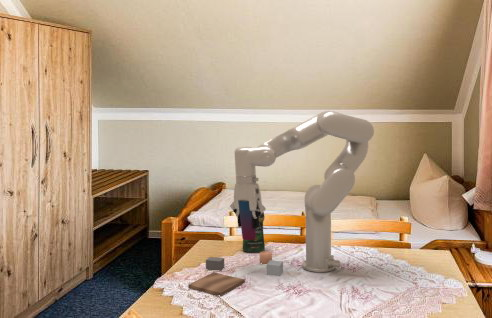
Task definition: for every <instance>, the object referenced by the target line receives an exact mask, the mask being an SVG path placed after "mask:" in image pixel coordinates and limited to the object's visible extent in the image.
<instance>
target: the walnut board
mask: <svg viewBox="0 0 492 318" xmlns="http://www.w3.org/2000/svg"><path fill="white" fill-rule="evenodd" d="M243 283H244V284H246V279H244V278H240V277H235V276H231V275H228V274H222V273H217V272H213V271H212V272H211V273H209V274H207V275H205V276H203V277H201V278H199V279H197V280H195V281H193V282H191V283H189V284H188V286H187V287H189V288H188V289H191V288H192V289H191V290H194V289H195V290H196V291H199V292H202V291H203V292H204V293H207V294H210V295H213V294H215V295H214V296H217V295H220V296H219V297H222V296H224V295H226V294H227V292H228V293H229V292H231V291H233V290H235V289H236V287H237V288H238V287H240V286H243ZM195 290H194V291H195ZM203 292H202V293H203ZM225 293H226V294H225ZM223 294H224V295H223ZM221 295H222V296H221Z"/></svg>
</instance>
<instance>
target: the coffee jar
mask: <svg viewBox="0 0 492 318" xmlns="http://www.w3.org/2000/svg"><path fill="white" fill-rule="evenodd" d="M259 210H260V209H258V211H259ZM264 221H265V211H264V212H263V213H262V214H261V215H260V217H259V227H258V228H256V238H255V239H253V240H244V239H243V238H242V251H243V252H246V253H260V252H262V251H265V250H266V248H265V247H266V245H265V243H266V242H265V234H264Z"/></svg>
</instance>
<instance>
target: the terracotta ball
mask: <svg viewBox="0 0 492 318" xmlns="http://www.w3.org/2000/svg"><path fill="white" fill-rule="evenodd" d="M258 253H259V264H260V263H262V264H267V263H268V262H269V261H270V260H273V252H272V251H270V250H264V251H262V252H258ZM262 264H261V265H262Z"/></svg>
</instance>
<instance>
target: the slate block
mask: <svg viewBox="0 0 492 318" xmlns="http://www.w3.org/2000/svg"><path fill="white" fill-rule="evenodd" d="M283 272H284V261H283V260H273V259H272V260H270V261H269V262H268V263H267V265H266V275H269V276H277V277H278V276H279V277H280V276H282V274H283Z"/></svg>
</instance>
